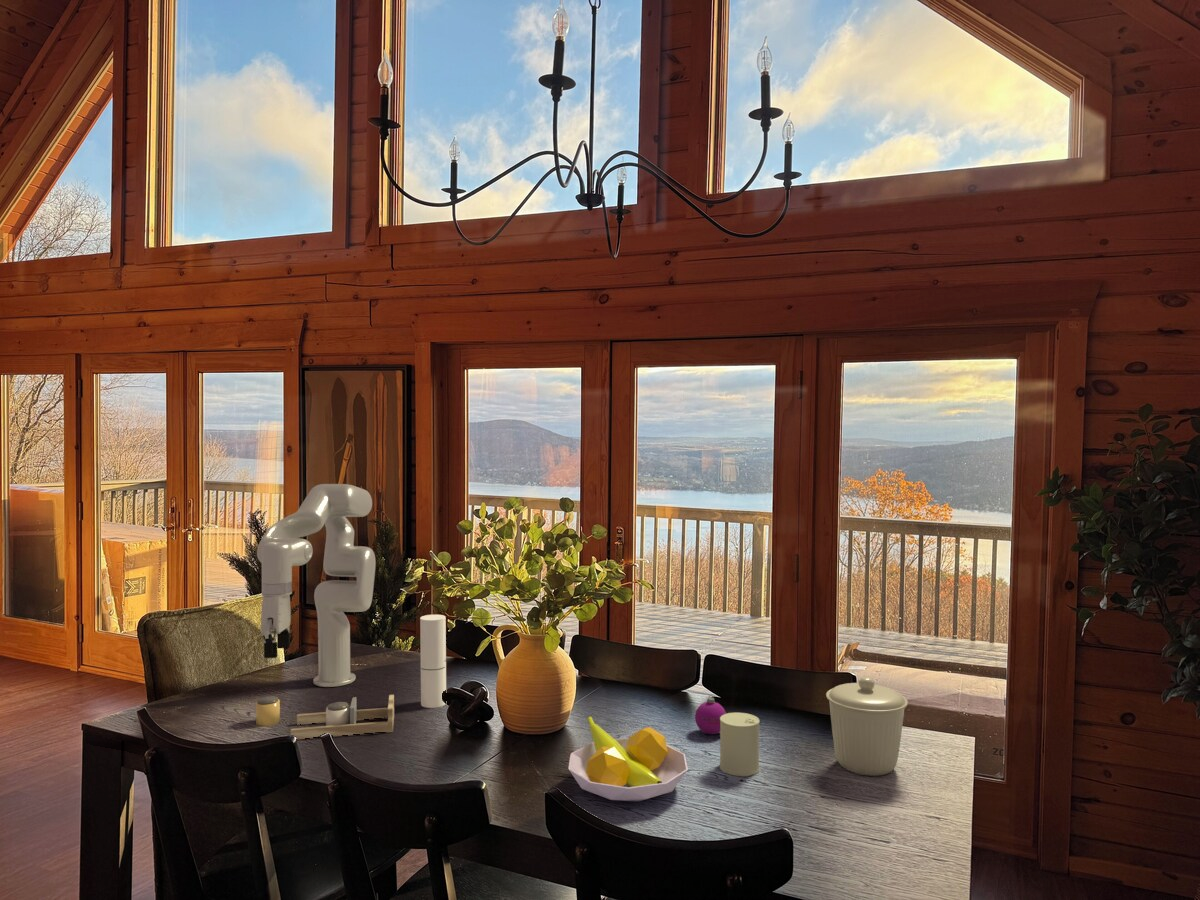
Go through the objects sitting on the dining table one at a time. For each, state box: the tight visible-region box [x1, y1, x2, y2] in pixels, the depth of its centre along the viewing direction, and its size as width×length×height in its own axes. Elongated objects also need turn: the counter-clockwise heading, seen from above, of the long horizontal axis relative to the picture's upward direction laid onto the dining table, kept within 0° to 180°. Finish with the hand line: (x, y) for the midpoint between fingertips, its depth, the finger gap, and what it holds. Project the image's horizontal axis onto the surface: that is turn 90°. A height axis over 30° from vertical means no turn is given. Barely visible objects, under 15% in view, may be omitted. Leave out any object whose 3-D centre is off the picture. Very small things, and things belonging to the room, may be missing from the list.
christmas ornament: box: [694, 694, 727, 735], centre depth 213 cm, size 8×8×10 cm
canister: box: [825, 676, 909, 777], centre depth 191 cm, size 18×18×21 cm
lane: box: [290, 694, 395, 740], centre depth 217 cm, size 12×25×6 cm, turn 102°
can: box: [719, 712, 760, 777], centre depth 191 cm, size 9×9×12 cm
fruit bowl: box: [568, 716, 689, 802], centre depth 182 cm, size 28×27×11 cm
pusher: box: [350, 696, 358, 724], centre depth 217 cm, size 9×1×6 cm, turn 12°
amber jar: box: [255, 695, 281, 727], centre depth 221 cm, size 6×6×6 cm
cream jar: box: [325, 701, 351, 726], centre depth 217 cm, size 6×6×6 cm
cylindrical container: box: [419, 614, 447, 709], centre depth 235 cm, size 7×7×25 cm
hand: (277, 652), depth 218 cm, fingers open, 9 cm apart
